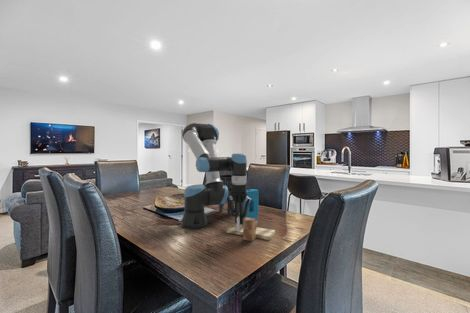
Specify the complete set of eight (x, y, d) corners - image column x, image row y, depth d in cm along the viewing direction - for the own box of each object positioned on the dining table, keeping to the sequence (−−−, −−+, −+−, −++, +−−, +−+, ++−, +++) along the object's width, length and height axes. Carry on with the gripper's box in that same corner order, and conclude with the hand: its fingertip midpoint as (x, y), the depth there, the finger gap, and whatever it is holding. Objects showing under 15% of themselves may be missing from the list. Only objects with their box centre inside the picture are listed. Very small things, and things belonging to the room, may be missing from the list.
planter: (210, 213, 157) (210, 176, 157) (226, 208, 174) (226, 173, 173) (234, 218, 147) (234, 178, 146) (248, 211, 163) (248, 175, 163)
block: (243, 226, 132) (243, 192, 131) (238, 223, 136) (238, 190, 135) (259, 222, 139) (259, 190, 138) (253, 220, 143) (254, 189, 142)
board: (226, 232, 121) (226, 229, 121) (234, 226, 130) (234, 223, 130) (269, 240, 111) (269, 236, 111) (275, 233, 120) (275, 229, 120)
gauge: (242, 239, 111) (242, 219, 111) (251, 232, 122) (251, 213, 122) (252, 241, 109) (252, 221, 109) (260, 233, 120) (260, 214, 120)
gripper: (224, 184, 114) (224, 230, 114) (248, 185, 108) (248, 234, 108) (230, 182, 120) (231, 226, 121) (253, 183, 115) (253, 229, 115)
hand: (239, 230), depth 114 cm, fingers closed
